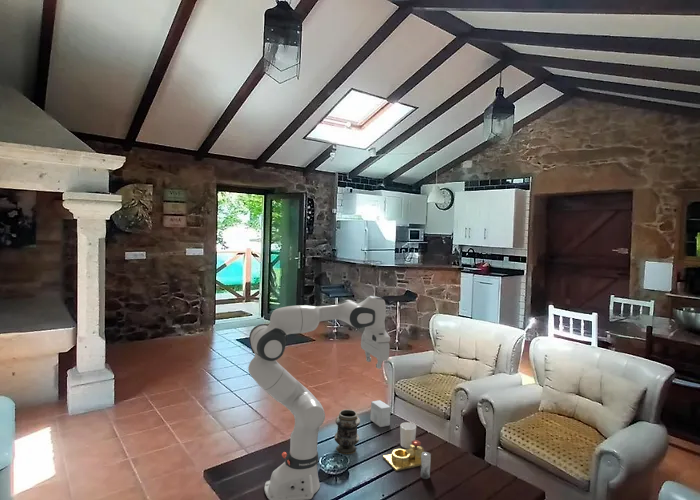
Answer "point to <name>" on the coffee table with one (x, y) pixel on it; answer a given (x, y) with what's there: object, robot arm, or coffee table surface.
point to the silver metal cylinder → (425, 465)
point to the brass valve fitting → (405, 457)
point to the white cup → (407, 434)
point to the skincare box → (380, 413)
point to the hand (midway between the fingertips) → (373, 364)
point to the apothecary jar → (347, 431)
